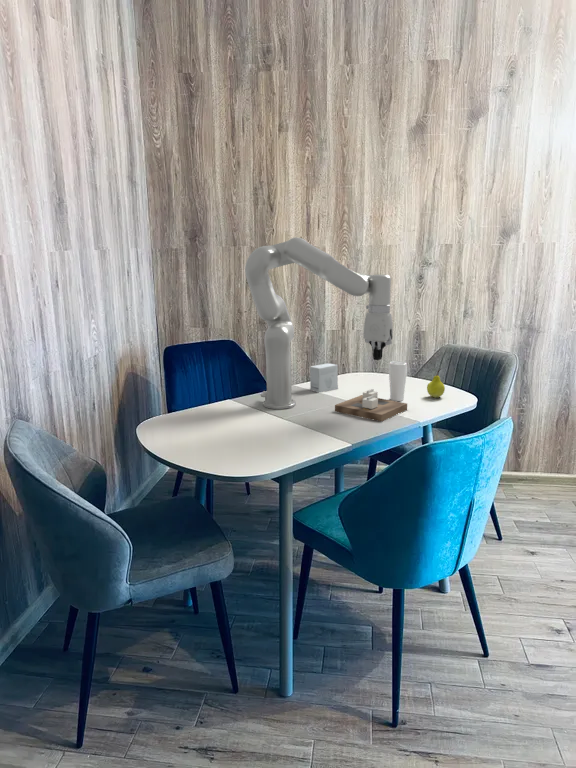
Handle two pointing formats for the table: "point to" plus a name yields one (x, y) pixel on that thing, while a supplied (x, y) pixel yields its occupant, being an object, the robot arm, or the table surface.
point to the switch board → (379, 413)
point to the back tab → (370, 393)
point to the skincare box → (324, 377)
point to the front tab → (370, 402)
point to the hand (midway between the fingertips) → (377, 359)
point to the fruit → (436, 387)
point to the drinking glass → (397, 380)
